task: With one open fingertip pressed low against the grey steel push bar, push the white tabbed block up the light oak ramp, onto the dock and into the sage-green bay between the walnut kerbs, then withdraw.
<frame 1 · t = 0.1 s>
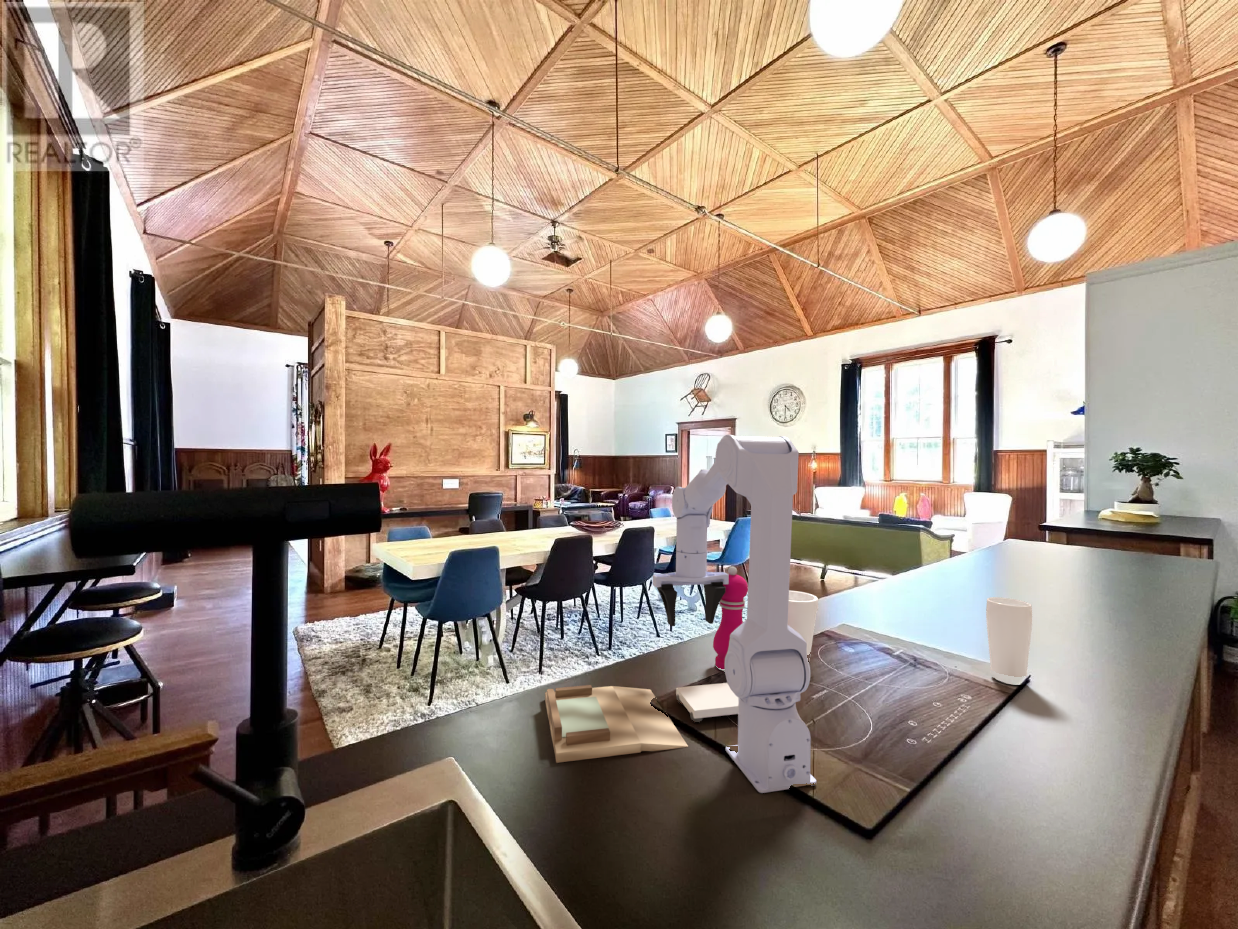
hand: (690, 623, 91), 10 cm above the worktop, tool pointing down, fingers open, 7 cm apart
pepper mill: (731, 669, 96), on the worktop
foam cup: (792, 659, 101), on the worktop
dock: (621, 719, 75), on the worktop
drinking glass: (1008, 682, 92), on the worktop
white tabbed block: (711, 710, 79), on the worktop
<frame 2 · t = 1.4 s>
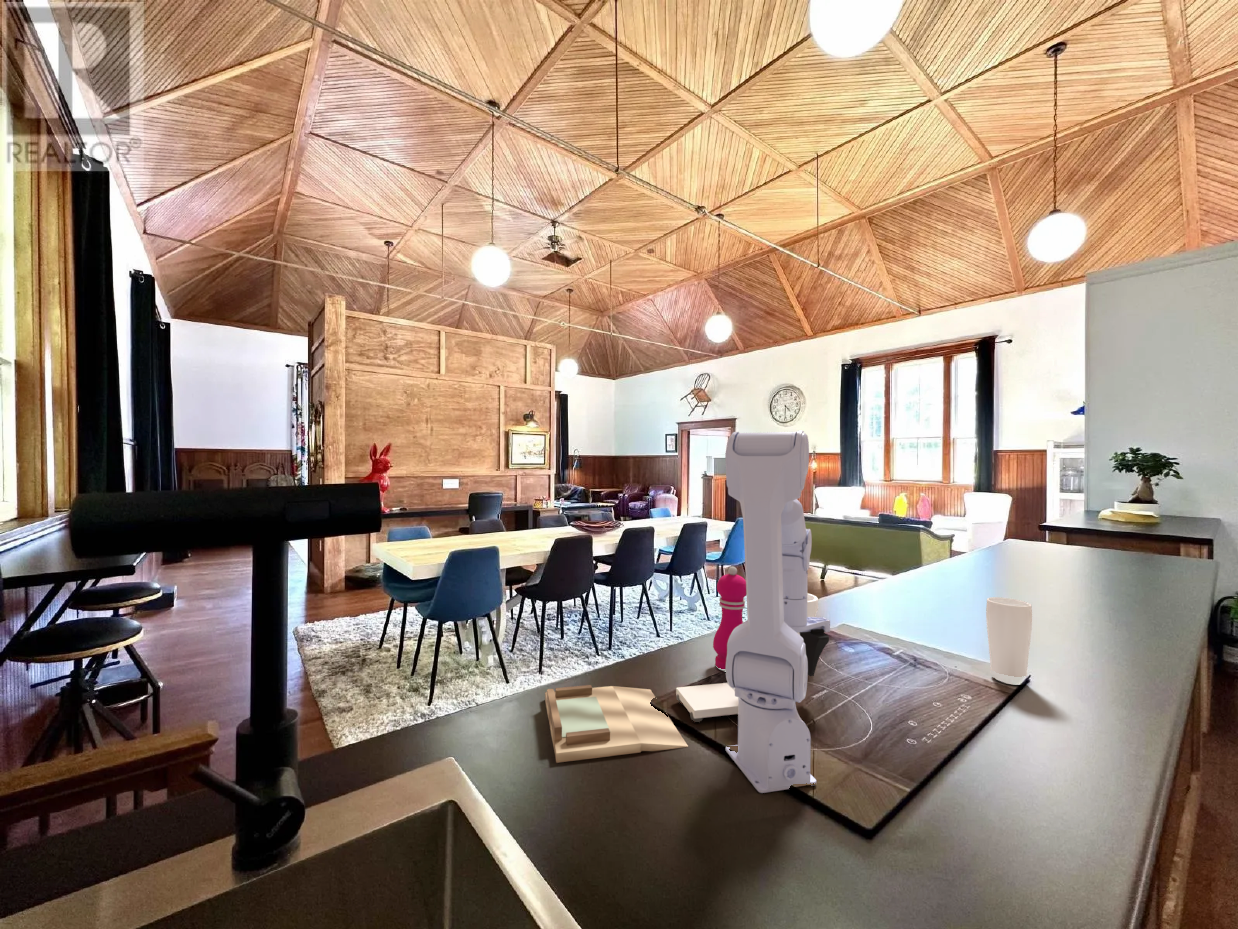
hand: (788, 675, 82), 4 cm above the worktop, tool pointing down, fingers open, 7 cm apart
nothing on the worktop moved.
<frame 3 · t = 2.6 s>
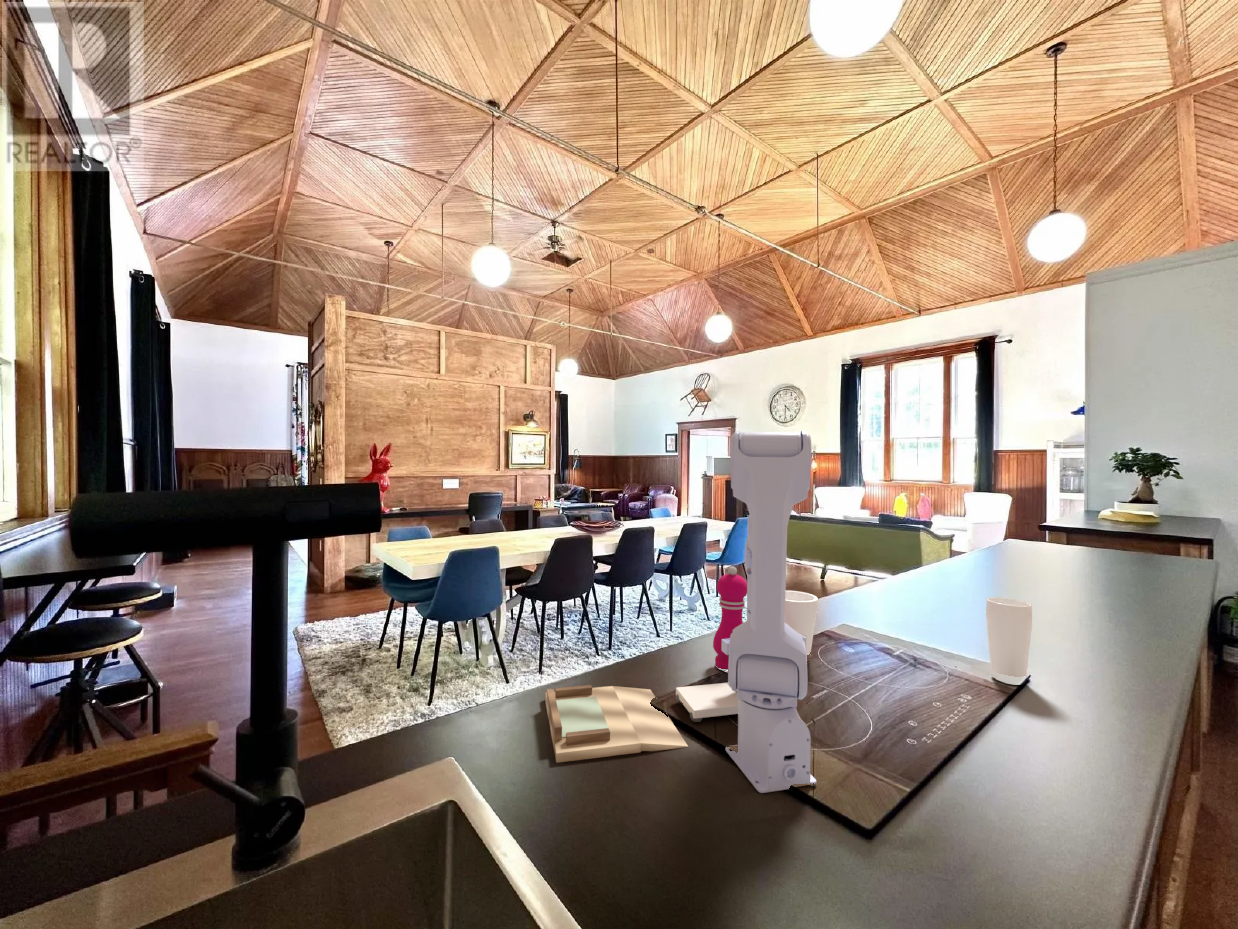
hand: (763, 693, 81), 2 cm above the worktop, tool pointing down, fingers open, 6 cm apart
white tabbed block: (711, 710, 79), on the worktop, touching gripper
everything else where it was.
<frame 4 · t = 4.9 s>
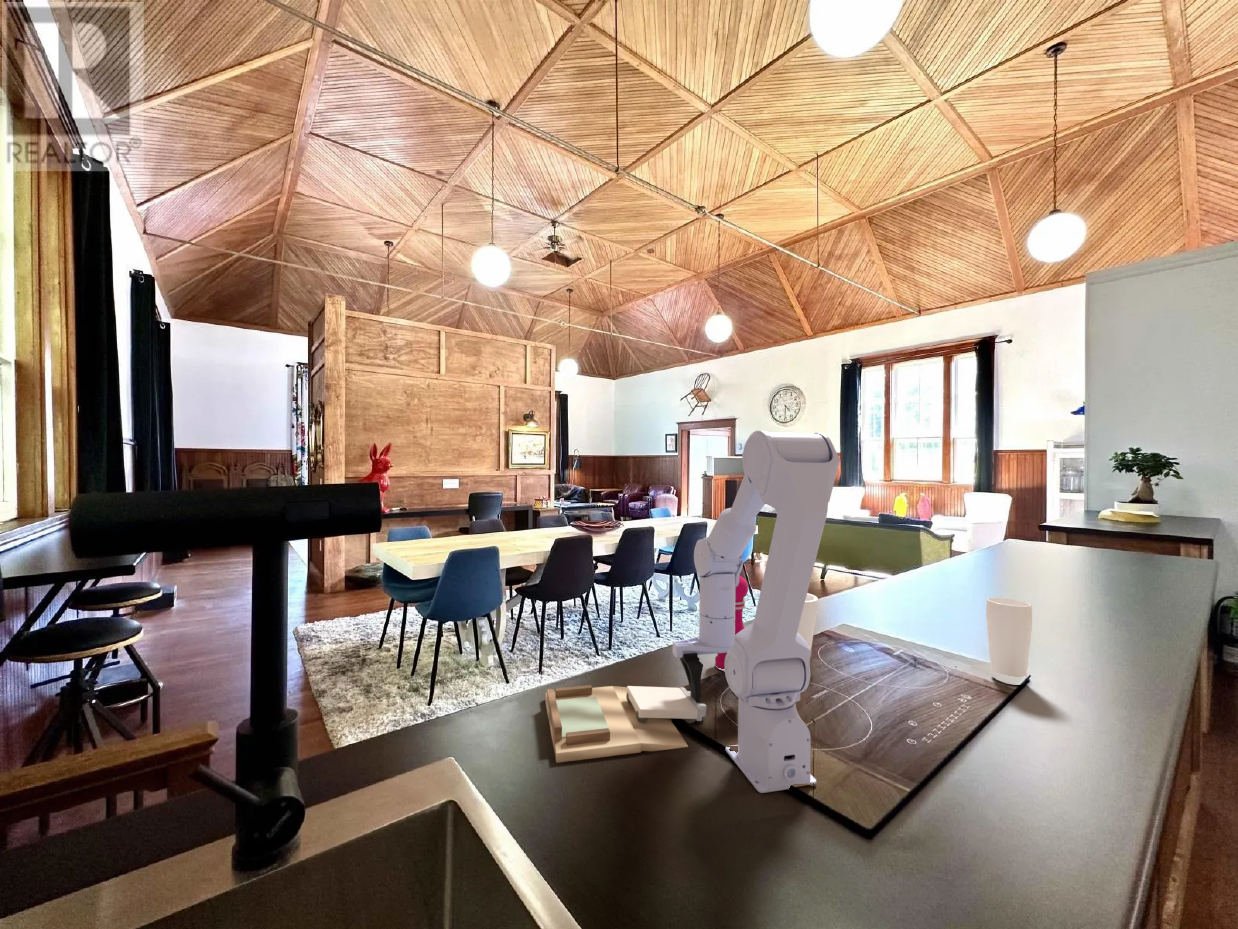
hand: (716, 697, 79), 2 cm above the worktop, tool pointing down, fingers open, 7 cm apart
white tabbed block: (659, 712, 77), on the worktop, tilted 7°, touching dock, gripper
everything else where it was.
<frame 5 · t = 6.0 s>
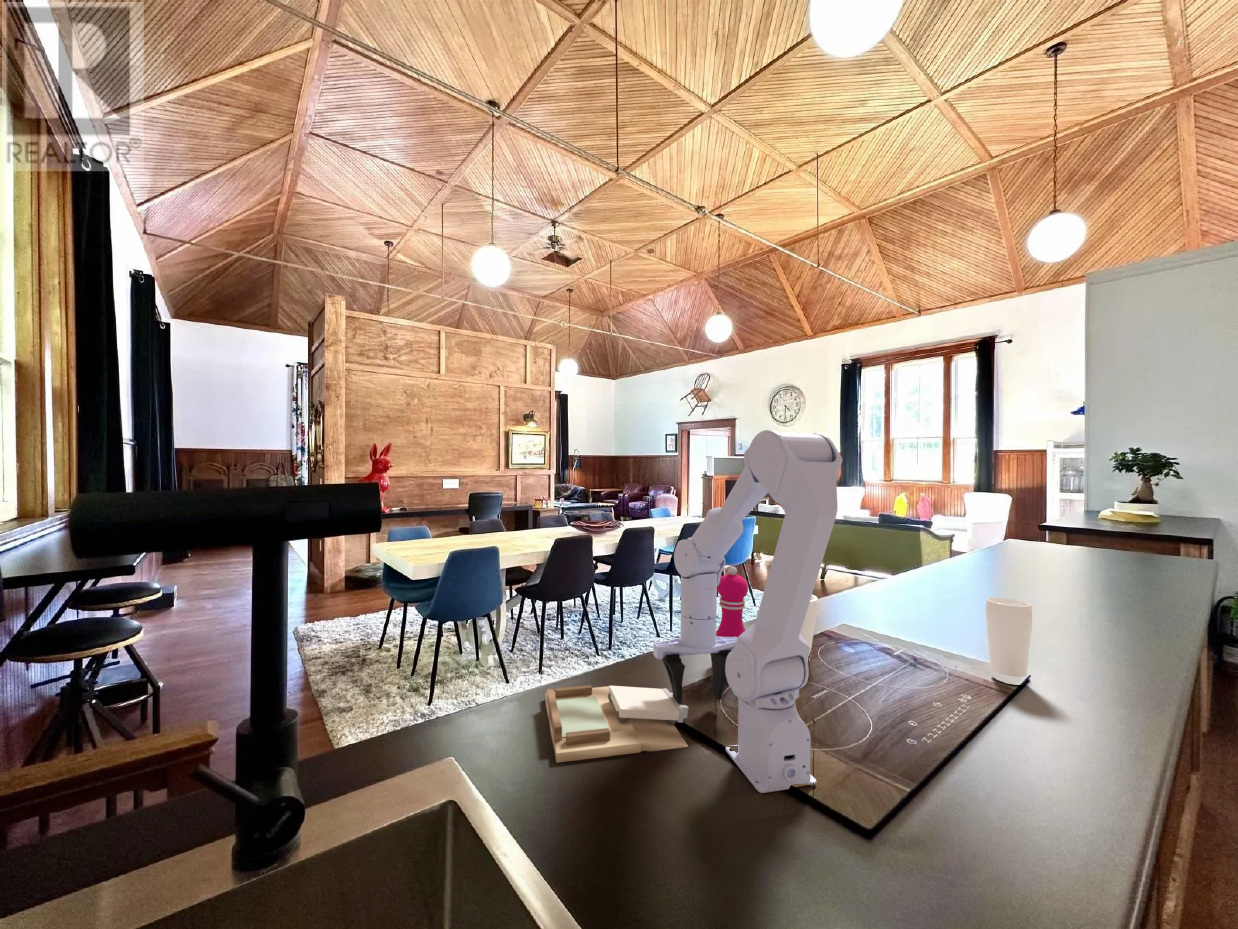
hand: (697, 699, 78), 2 cm above the worktop, tool pointing down, fingers open, 6 cm apart
white tabbed block: (640, 713, 76), point 1 cm above the worktop, tilted 8°, touching dock, gripper
everything else where it was.
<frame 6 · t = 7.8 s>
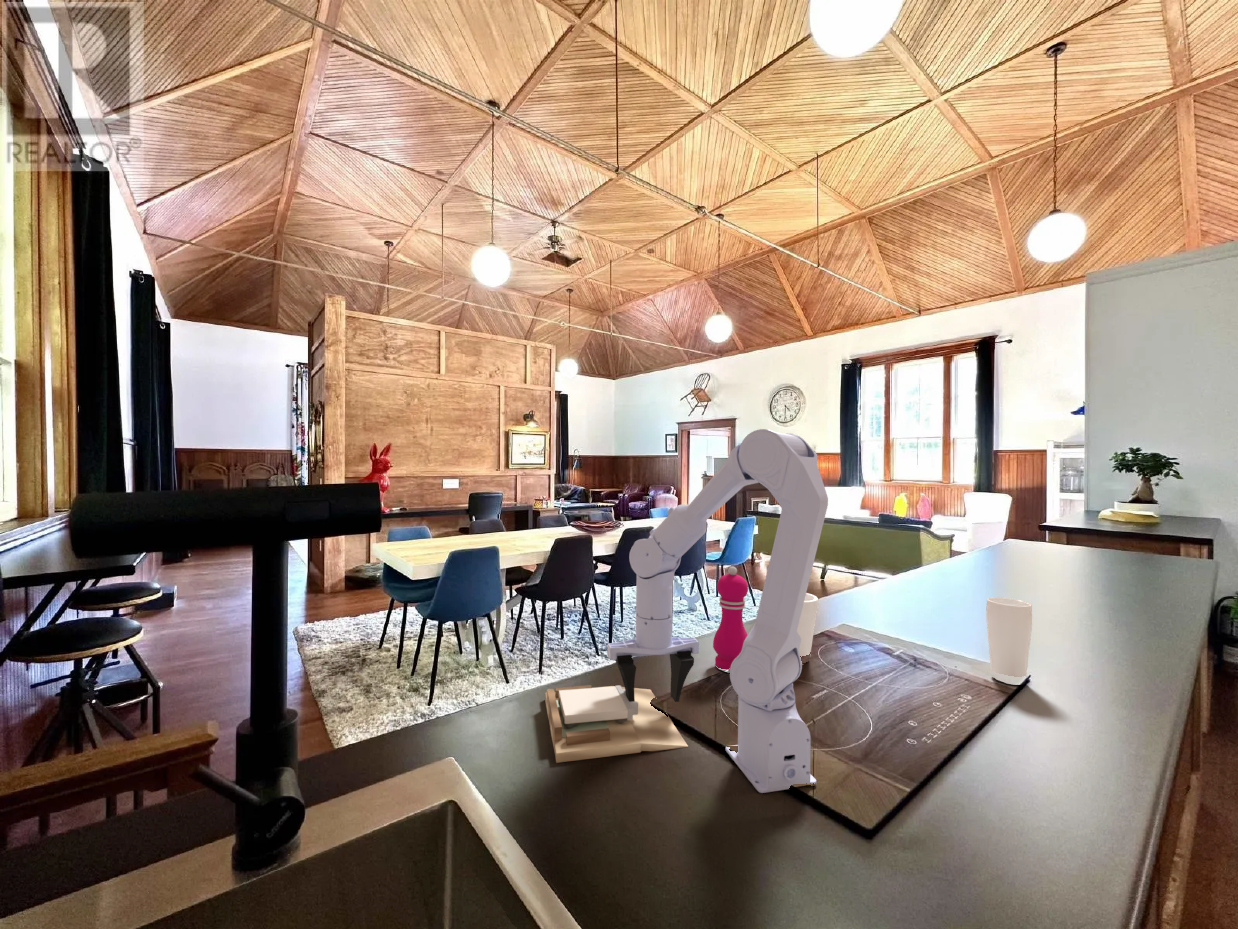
hand: (652, 701, 76), 2 cm above the worktop, tool pointing down, fingers open, 7 cm apart
white tabbed block: (591, 715, 74), point 1 cm above the worktop, touching dock, gripper
everything else where it was.
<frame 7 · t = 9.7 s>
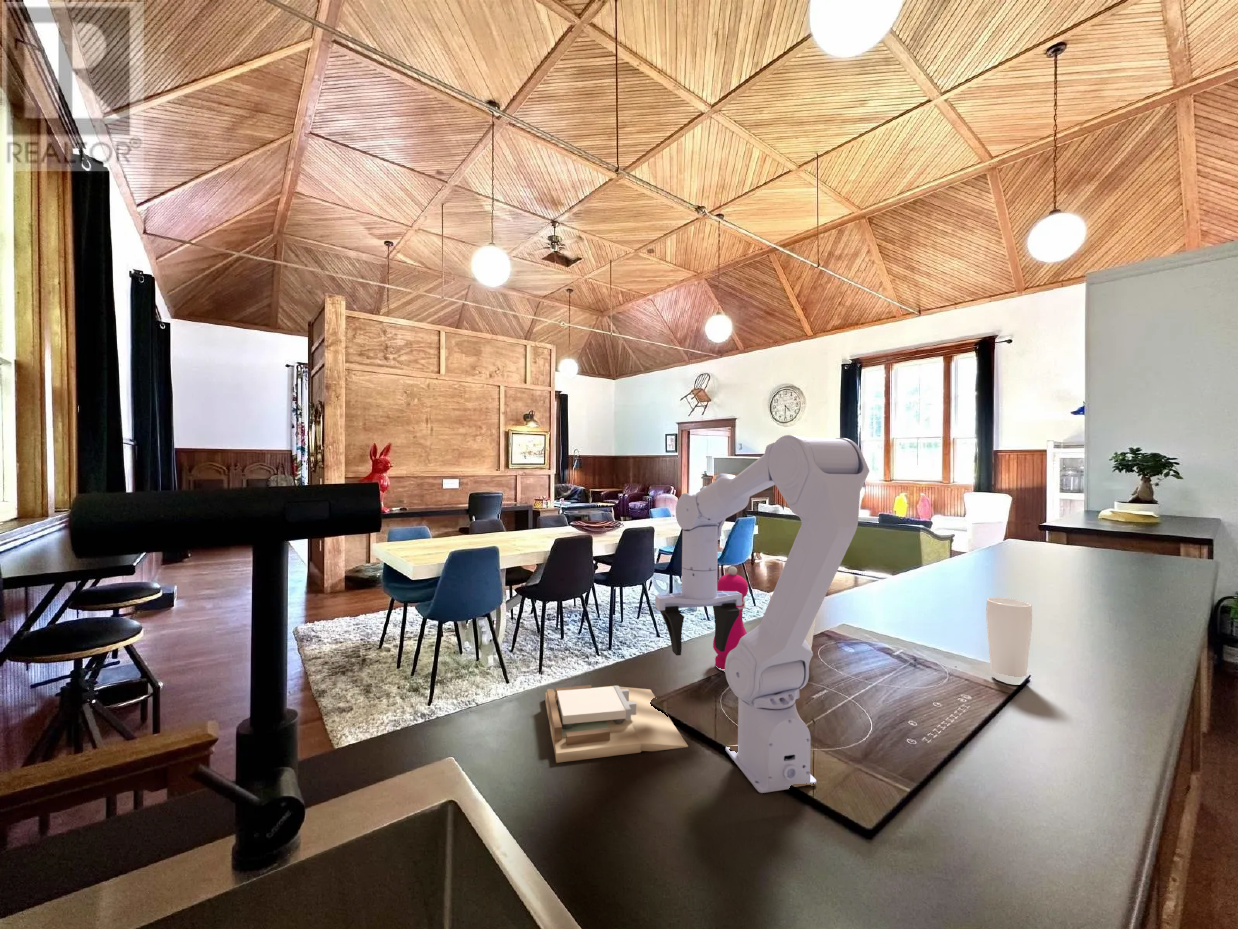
hand: (698, 651, 79), 9 cm above the worktop, tool pointing down, fingers open, 7 cm apart
white tabbed block: (589, 715, 74), point 1 cm above the worktop, touching dock
everything else where it was.
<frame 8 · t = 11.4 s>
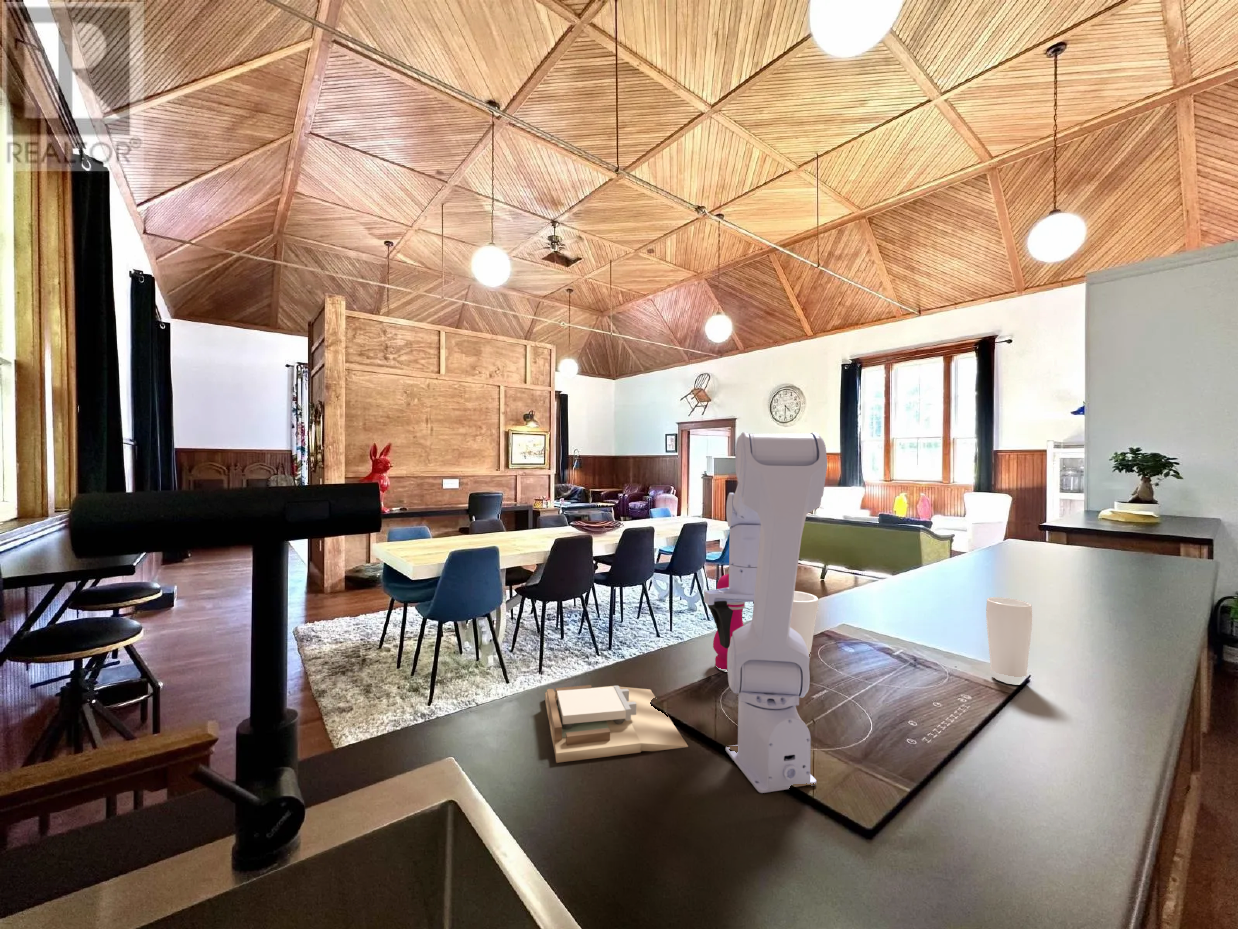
hand: (745, 644, 82), 9 cm above the worktop, tool pointing down, fingers open, 7 cm apart
nothing on the worktop moved.
at the end: white tabbed block 0.9 cm from the target spot on the dock, point 1.3 cm above the dock's base; white tabbed block tilted 1°; the gripper is holding nothing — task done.
